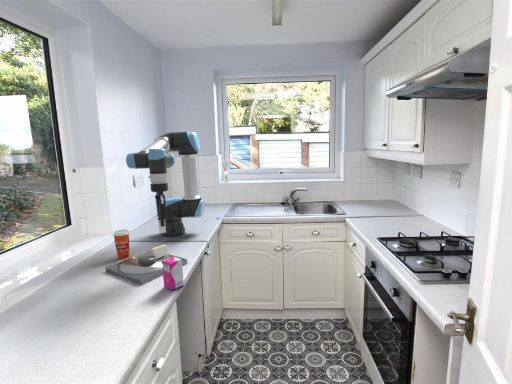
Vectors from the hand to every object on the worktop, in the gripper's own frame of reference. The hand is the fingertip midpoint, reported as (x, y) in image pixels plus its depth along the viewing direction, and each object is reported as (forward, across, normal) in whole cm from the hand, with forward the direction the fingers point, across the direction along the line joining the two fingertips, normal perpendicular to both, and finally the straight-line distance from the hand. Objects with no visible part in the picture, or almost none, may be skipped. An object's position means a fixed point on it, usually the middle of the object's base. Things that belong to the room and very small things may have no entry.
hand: (162, 232), depth 138 cm
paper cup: (+16, -22, -17) cm, 33 cm away
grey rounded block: (+14, -4, -5) cm, 15 cm away
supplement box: (+17, +24, -1) cm, 29 cm away
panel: (+16, -2, -8) cm, 18 cm away
